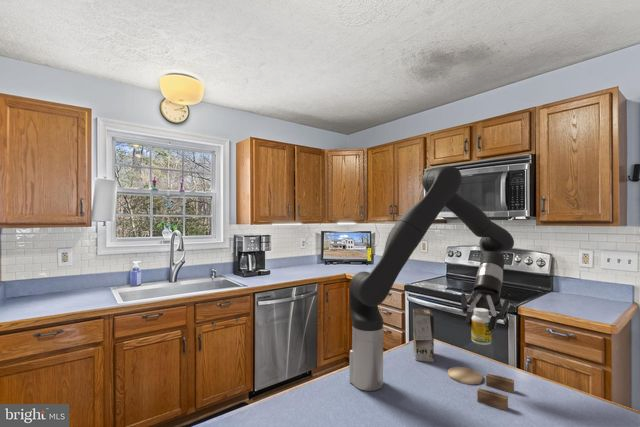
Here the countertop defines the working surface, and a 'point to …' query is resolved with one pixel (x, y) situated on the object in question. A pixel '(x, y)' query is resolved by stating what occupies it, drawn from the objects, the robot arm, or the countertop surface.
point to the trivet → (465, 375)
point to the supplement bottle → (480, 327)
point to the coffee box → (423, 334)
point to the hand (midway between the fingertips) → (479, 327)
